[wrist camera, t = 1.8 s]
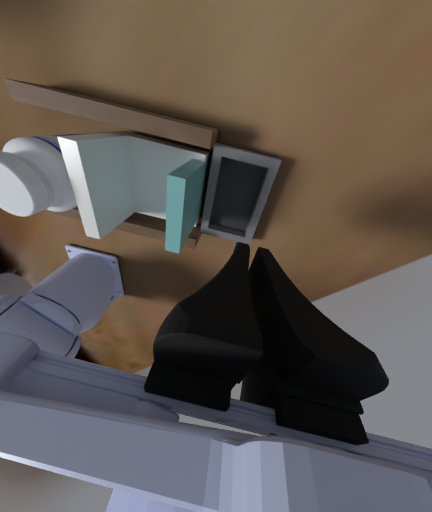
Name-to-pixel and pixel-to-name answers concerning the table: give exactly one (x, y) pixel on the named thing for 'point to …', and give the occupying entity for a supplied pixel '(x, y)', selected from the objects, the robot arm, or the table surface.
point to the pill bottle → (34, 176)
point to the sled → (135, 182)
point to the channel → (126, 119)
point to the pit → (237, 192)
